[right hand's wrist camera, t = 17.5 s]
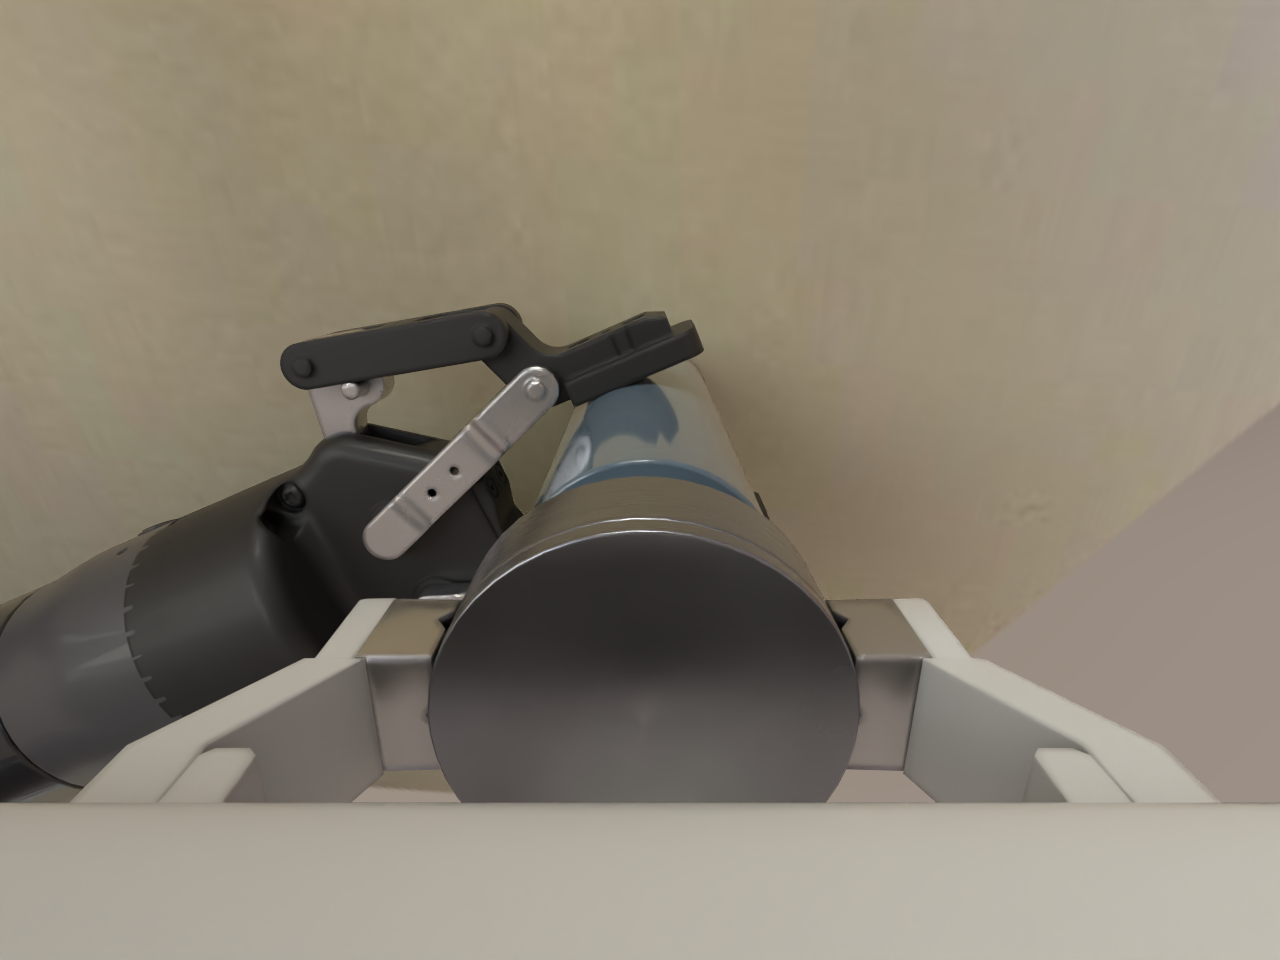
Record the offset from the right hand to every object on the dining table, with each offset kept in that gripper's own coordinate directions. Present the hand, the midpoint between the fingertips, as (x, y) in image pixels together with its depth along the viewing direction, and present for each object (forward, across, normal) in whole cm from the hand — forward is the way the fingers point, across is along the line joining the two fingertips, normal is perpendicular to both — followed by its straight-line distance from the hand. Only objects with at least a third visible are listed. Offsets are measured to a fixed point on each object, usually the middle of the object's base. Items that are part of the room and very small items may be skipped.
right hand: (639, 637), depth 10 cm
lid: (-2, 0, 0) cm, 2 cm away
